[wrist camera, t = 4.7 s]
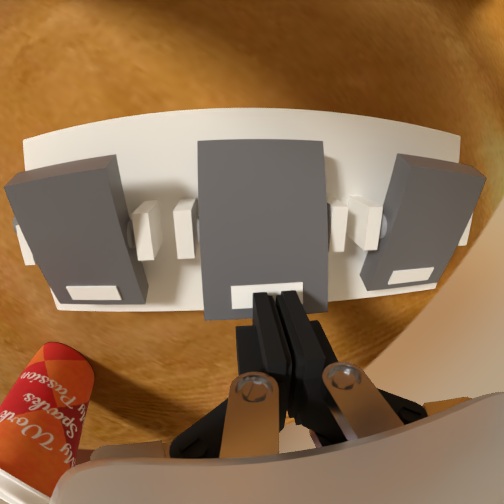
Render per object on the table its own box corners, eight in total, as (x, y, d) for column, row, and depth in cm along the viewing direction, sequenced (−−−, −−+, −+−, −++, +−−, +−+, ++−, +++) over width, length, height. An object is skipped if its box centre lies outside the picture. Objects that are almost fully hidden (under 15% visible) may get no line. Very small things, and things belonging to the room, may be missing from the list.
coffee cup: (122, 376, 22) (88, 533, 8) (82, 404, 24) (49, 525, 10) (48, 314, 19) (-37, 461, 5) (19, 354, 20) (-40, 469, 7)
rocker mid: (198, 150, 12) (194, 140, 11) (314, 149, 13) (326, 140, 11) (204, 310, 13) (202, 321, 11) (318, 302, 13) (330, 312, 12)
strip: (25, 144, 14) (-36, 157, 8) (422, 131, 16) (486, 140, 11) (49, 279, 18) (7, 327, 12) (406, 263, 20) (453, 305, 15)
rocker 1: (19, 170, 9) (1, 188, 8) (120, 150, 10) (107, 168, 9) (66, 283, 14) (58, 305, 13) (151, 281, 14) (147, 305, 13)
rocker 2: (391, 150, 11) (411, 166, 10) (469, 163, 11) (488, 179, 10) (356, 270, 15) (365, 292, 14) (427, 264, 16) (439, 283, 15)
